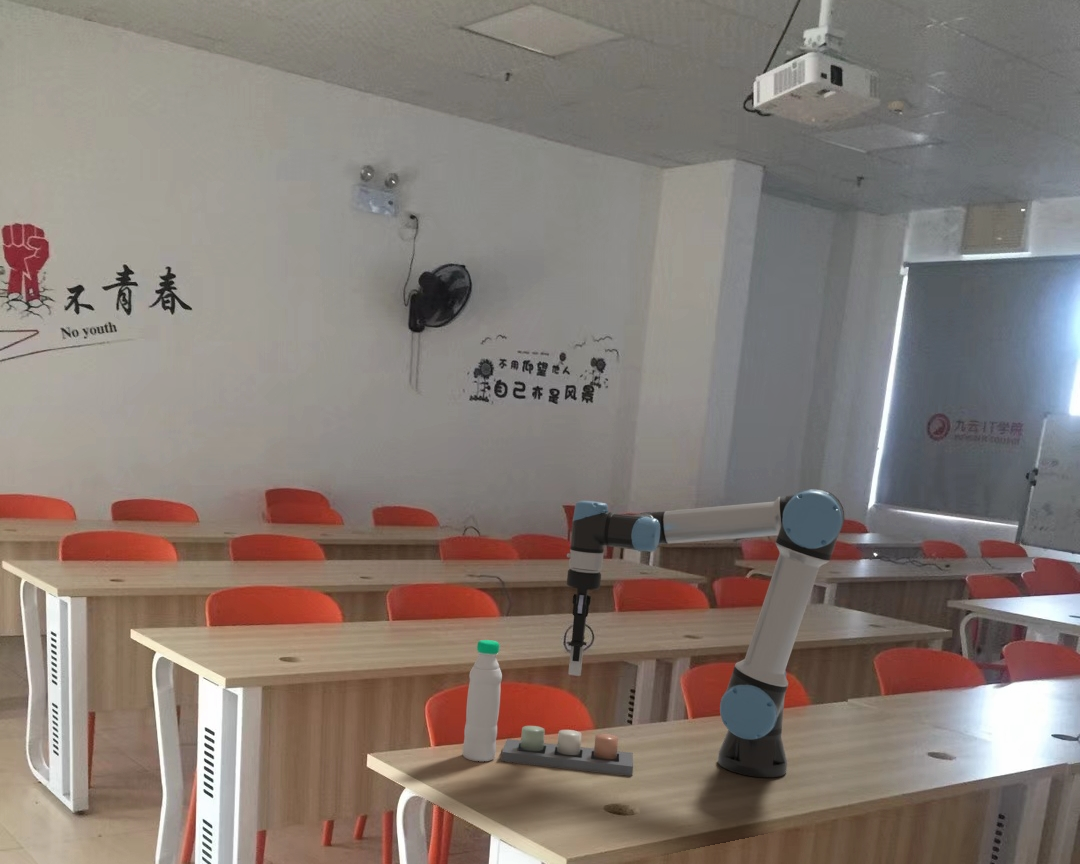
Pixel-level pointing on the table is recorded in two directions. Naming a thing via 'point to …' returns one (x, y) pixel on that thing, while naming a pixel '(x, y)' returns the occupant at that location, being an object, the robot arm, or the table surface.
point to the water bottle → (483, 704)
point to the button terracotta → (606, 746)
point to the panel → (568, 759)
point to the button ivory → (569, 742)
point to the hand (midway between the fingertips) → (574, 674)
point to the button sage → (532, 738)
